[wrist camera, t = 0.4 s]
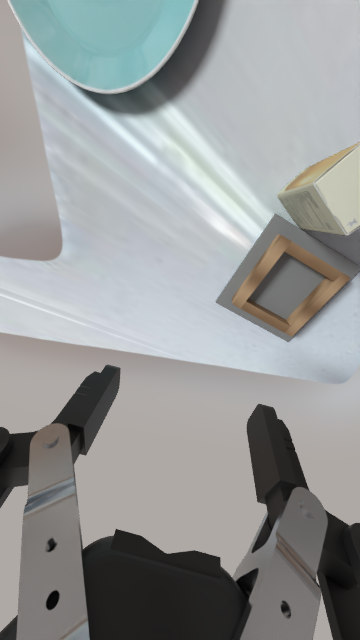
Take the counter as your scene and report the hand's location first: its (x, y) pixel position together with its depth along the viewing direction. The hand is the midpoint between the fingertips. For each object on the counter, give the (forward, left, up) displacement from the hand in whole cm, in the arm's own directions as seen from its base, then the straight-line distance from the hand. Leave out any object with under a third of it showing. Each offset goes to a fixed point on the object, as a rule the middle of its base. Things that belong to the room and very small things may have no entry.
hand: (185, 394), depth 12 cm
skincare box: (-16, +7, -27) cm, 32 cm away
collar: (-5, +13, -27) cm, 30 cm away
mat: (-5, +13, -27) cm, 30 cm away
